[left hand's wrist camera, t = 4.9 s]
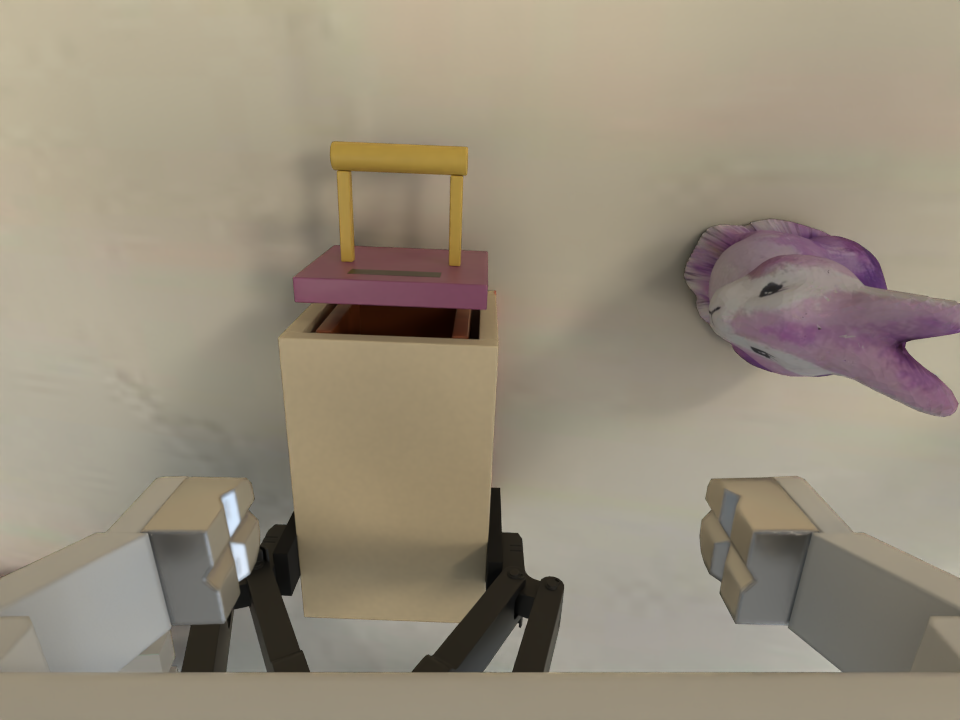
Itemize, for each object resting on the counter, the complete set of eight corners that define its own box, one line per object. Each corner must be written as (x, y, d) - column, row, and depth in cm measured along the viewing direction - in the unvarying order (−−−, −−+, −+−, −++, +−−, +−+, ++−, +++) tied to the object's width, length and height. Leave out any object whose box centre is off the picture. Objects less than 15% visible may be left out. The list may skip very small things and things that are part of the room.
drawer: (328, 138, 32) (281, 142, 25) (492, 145, 32) (494, 151, 25) (346, 474, 40) (314, 551, 32) (477, 479, 40) (475, 558, 32)
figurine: (646, 246, 34) (754, 327, 21) (822, 174, 33) (1068, 211, 19) (690, 381, 38) (809, 531, 24) (852, 322, 36) (1081, 446, 22)
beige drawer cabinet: (329, 283, 36) (276, 337, 27) (495, 290, 36) (499, 346, 27) (343, 512, 42) (303, 617, 33) (484, 517, 42) (483, 624, 33)
